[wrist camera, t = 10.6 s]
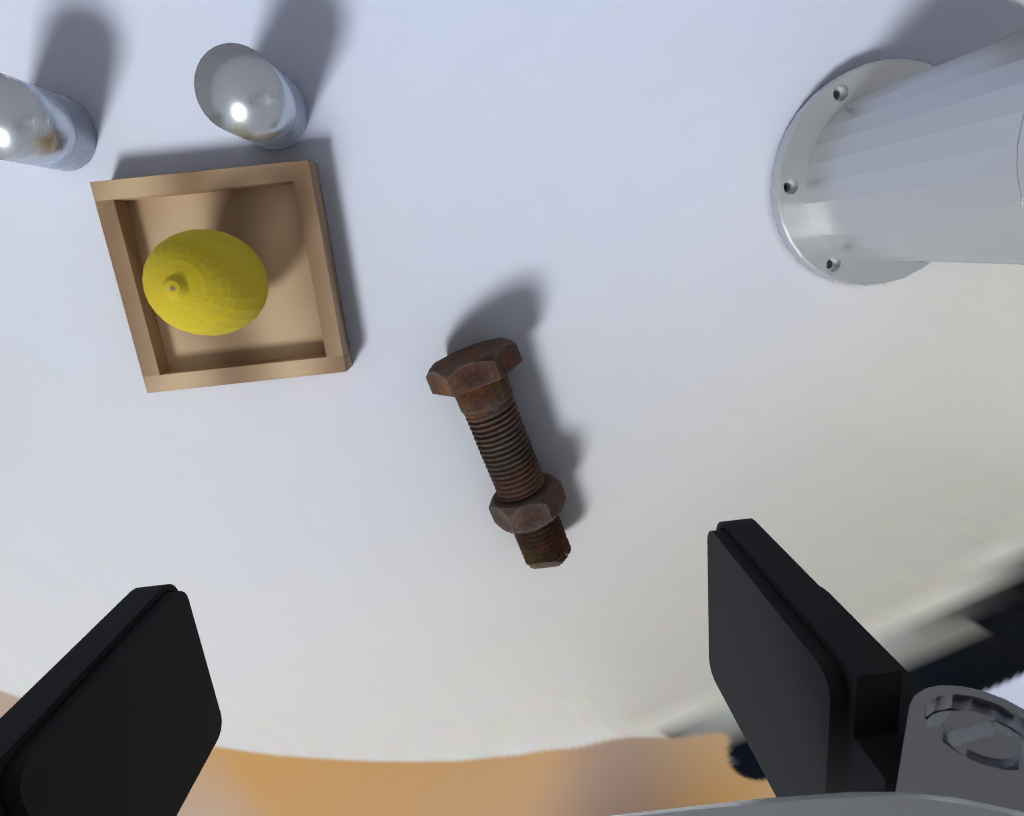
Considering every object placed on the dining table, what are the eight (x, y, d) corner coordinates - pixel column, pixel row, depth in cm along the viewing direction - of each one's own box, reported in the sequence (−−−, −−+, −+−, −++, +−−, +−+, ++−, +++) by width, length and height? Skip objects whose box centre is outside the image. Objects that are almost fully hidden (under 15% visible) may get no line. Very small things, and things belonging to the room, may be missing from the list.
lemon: (212, 334, 36) (138, 358, 28) (178, 243, 35) (90, 241, 27) (299, 314, 36) (249, 332, 28) (269, 221, 35) (207, 213, 27)
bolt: (534, 534, 44) (458, 346, 39) (597, 531, 41) (523, 329, 36) (499, 587, 39) (409, 380, 34) (568, 587, 36) (479, 363, 32)
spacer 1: (85, 90, 33) (16, 63, 28) (105, 167, 34) (42, 153, 29) (12, 97, 33) (-68, 72, 28) (35, 174, 34) (-39, 162, 29)
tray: (316, 164, 34) (307, 159, 33) (352, 365, 38) (345, 371, 36) (109, 185, 34) (89, 182, 33) (162, 386, 37) (147, 392, 36)
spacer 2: (300, 69, 33) (269, 39, 28) (313, 146, 34) (285, 129, 29) (229, 76, 33) (185, 47, 28) (244, 152, 34) (205, 137, 29)
